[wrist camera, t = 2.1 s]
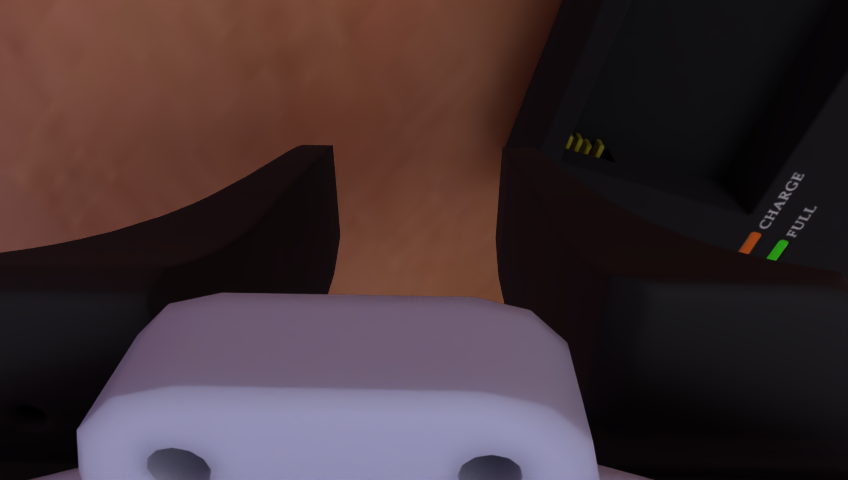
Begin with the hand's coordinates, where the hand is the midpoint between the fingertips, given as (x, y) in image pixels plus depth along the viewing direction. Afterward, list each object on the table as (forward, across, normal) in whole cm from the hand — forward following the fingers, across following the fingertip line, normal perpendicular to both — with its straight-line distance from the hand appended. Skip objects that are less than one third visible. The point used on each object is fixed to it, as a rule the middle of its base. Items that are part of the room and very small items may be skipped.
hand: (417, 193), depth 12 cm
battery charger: (+9, -10, 0) cm, 13 cm away
